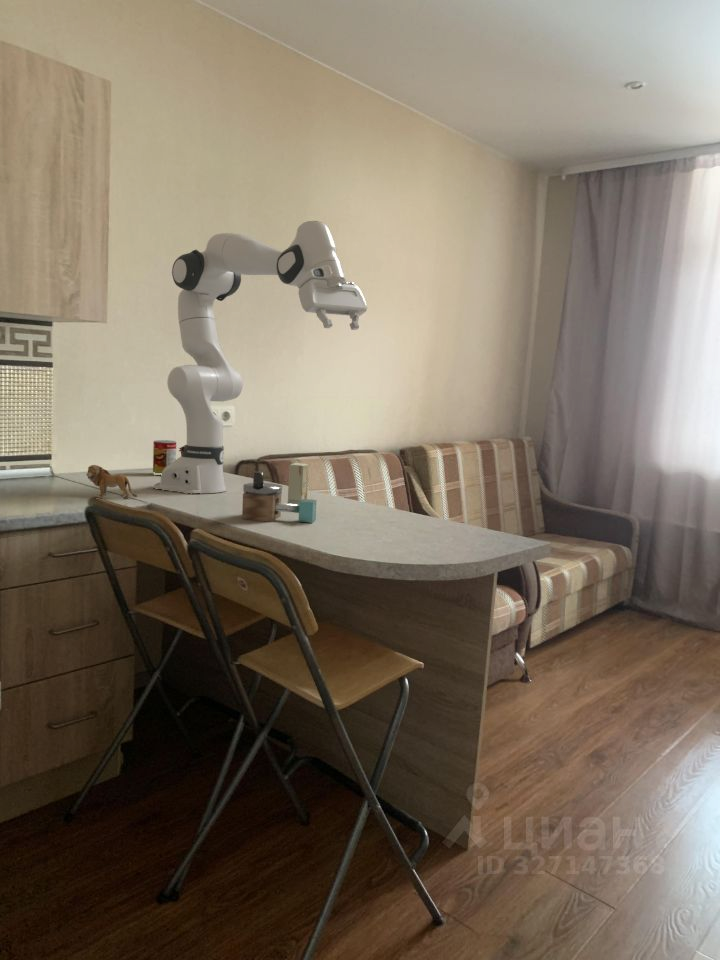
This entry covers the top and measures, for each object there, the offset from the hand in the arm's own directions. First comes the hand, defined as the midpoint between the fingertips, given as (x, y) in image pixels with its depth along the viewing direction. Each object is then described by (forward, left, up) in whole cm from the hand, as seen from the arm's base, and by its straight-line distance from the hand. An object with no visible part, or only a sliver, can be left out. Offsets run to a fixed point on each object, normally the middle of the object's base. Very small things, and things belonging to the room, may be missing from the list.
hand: (342, 328), depth 187 cm
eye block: (-18, -6, -50) cm, 54 cm away
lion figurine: (-67, +5, -50) cm, 84 cm away
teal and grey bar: (-13, -6, -50) cm, 52 cm away
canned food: (-73, +55, -50) cm, 105 cm away
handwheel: (-18, -6, -43) cm, 47 cm away
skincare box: (-14, +16, -50) cm, 55 cm away
